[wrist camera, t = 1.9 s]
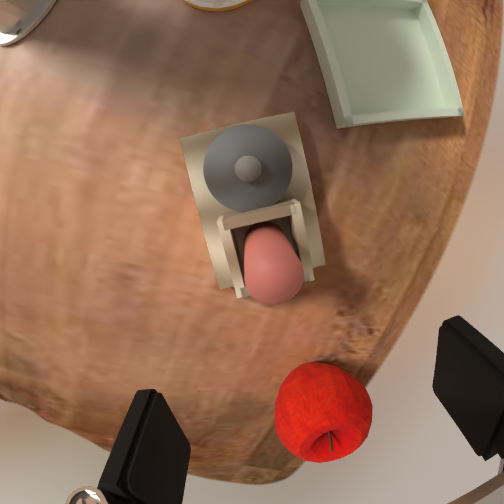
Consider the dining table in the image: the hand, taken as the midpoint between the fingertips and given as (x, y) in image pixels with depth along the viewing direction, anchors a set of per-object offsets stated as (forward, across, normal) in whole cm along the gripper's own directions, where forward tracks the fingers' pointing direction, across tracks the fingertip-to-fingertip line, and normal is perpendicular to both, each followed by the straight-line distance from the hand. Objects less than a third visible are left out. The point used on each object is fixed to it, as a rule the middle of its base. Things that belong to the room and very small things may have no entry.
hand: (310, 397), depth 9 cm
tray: (+21, -16, -16) cm, 31 cm away
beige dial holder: (+21, 0, -4) cm, 22 cm away
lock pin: (+19, 0, 0) cm, 19 cm away
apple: (+22, -2, +17) cm, 28 cm away
